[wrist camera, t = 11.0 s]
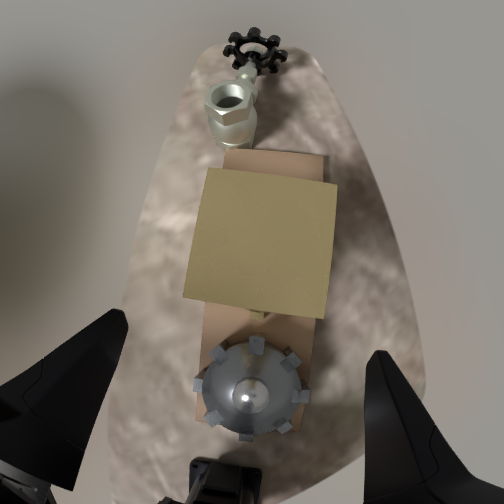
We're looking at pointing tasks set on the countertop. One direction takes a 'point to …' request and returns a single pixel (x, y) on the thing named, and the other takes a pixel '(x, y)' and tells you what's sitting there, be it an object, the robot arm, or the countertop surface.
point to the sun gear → (252, 387)
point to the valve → (241, 91)
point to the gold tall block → (263, 243)
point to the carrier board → (274, 324)
